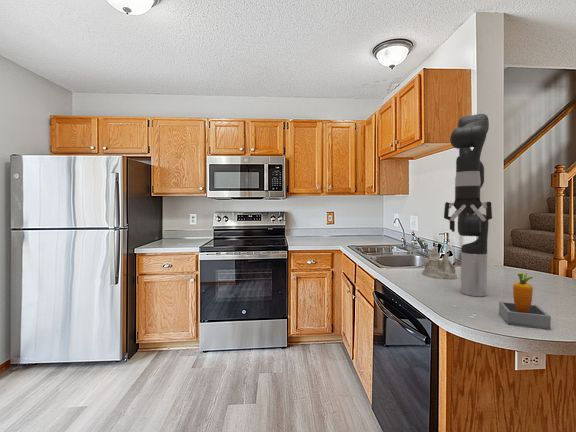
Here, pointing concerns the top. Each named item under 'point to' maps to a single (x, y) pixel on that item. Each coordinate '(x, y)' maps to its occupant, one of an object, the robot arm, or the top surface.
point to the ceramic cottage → (439, 267)
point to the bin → (525, 316)
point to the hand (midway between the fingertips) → (466, 231)
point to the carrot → (522, 294)
